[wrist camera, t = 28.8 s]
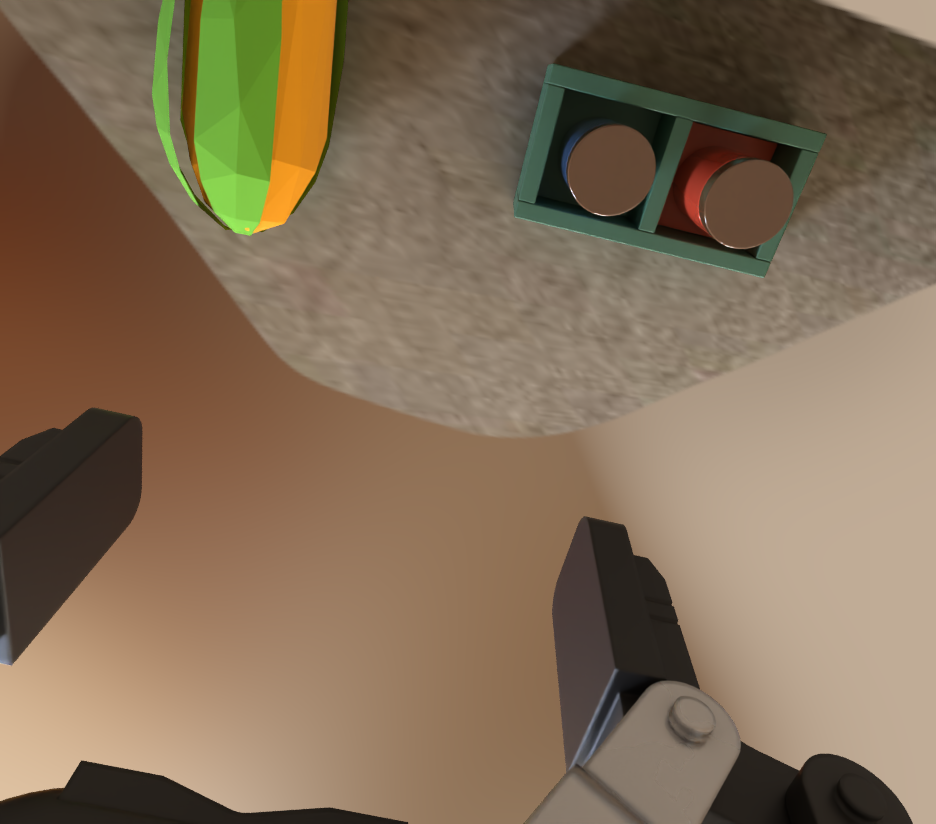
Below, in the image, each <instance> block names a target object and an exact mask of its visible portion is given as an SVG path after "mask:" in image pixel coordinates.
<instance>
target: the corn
mask: <svg viewBox="0 0 936 824" xmlns="http://www.w3.org/2000/svg"><path fill="white" fill-rule="evenodd" d="M174 2H175V0H163V1H162V6H161V11H160V15H159V20H158V30H157V42H156V54H155V65H154V77H153V89H152V97H153V103H154V110H155V117H156V124H157V128H158V131H159V134H160V137H161V140H162V143H163V146H164V149H165V151H166V154H167V157H168V160H169V163H170V165H171V167H172V168H173V170H174V172H175V173H176V175H177V176H178V178H179V180H180V181H181V183H182V184H183V186H184V188H185V189H186V191H187V192H188V194H189V196H190V197H191V199H192V201H194V202H195V203H196V204H197V205H198V206H199V207H200V208H201V209H202V210H203V211H205V212H206V213H207V214H208V215H209V216H210V217H211V218H213V219H214V220H215V221H216V222H217V223H218V224H219V225H221V226H222V227H223V228H224V229H225V230H233V231H234V232H235V233H240V234H245V235H250V236H251V234H252V233H256V232H264V231H265V230H267V229H268V228H271V227H275V226H278V225H281V224H284V223H285V221H286V220H287V218H288V217H289V215H291V214H293V213H294V212H295V210H296V209H297V207H298V206H299V204H300V203H301V202H302V200H303V199H304V197H305V196H306V195H307V193H308V192H309V190H310V189H311V188H312V186H313V185H314V183H315V182H316V179H317V176H318V174H319V171H320V168H321V166H322V163H323V160H324V158H325V155H326V152H327V150H328V147H329V143H330V137H331V131H332V125H333V120H334V114H335V108H336V102H337V97H338V91H339V85H340V79H341V74H342V68H343V62H344V51H345V38H346V24H347V11H348V0H185V8H184V36H183V64H182V92H181V123H182V127H183V130H184V134H185V137H186V140H187V144H188V150H189V157H190V161H191V164H192V167H193V170H194V173H195V175H196V178H197V181H198V184H199V187H200V190H201V193H202V196H203V198H204V201H205V203H206V204H207V205H208V206H209V207H210V208H211V209H212V210H213V211H214V212H215V213H216V214H217V215H218V216H219V217H220V218H221V219H222V220H223V221H224V222H225V223H226V224H227V225H228V226H229V227H230V228H231V229H230V228H228V227H227V226H225V225H223V224H222V223H221V222H220V221H219V220H218V219H217V217H216V216H215V215H214V214H213V213H212V212H211V211H210V210H209V209H208V208H207V207H206V206H205V205H204V204H203V203H202V202H201V201H200V200H199V199H198V198H197V197H196V195H195V194H194V192H193V191H192V189H191V187H190V185H189V183H188V182H187V180H186V178H185V176H184V174H183V173H182V171H181V169H180V167H179V165H178V161H177V158H176V154H175V151H174V147H173V144H172V140H171V137H170V124H169V100H168V75H167V56H168V48H169V41H170V33H171V25H172V17H173V10H174Z"/></svg>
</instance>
